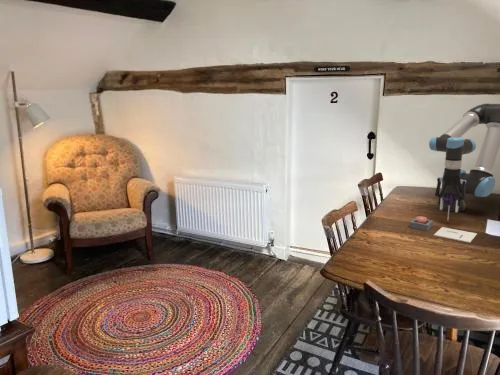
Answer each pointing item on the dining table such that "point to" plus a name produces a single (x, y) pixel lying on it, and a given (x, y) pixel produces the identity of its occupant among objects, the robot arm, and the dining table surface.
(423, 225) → the button housing
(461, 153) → the robot arm
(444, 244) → the dining table surface
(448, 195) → the lollipop
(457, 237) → the paper pad
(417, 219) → the button
